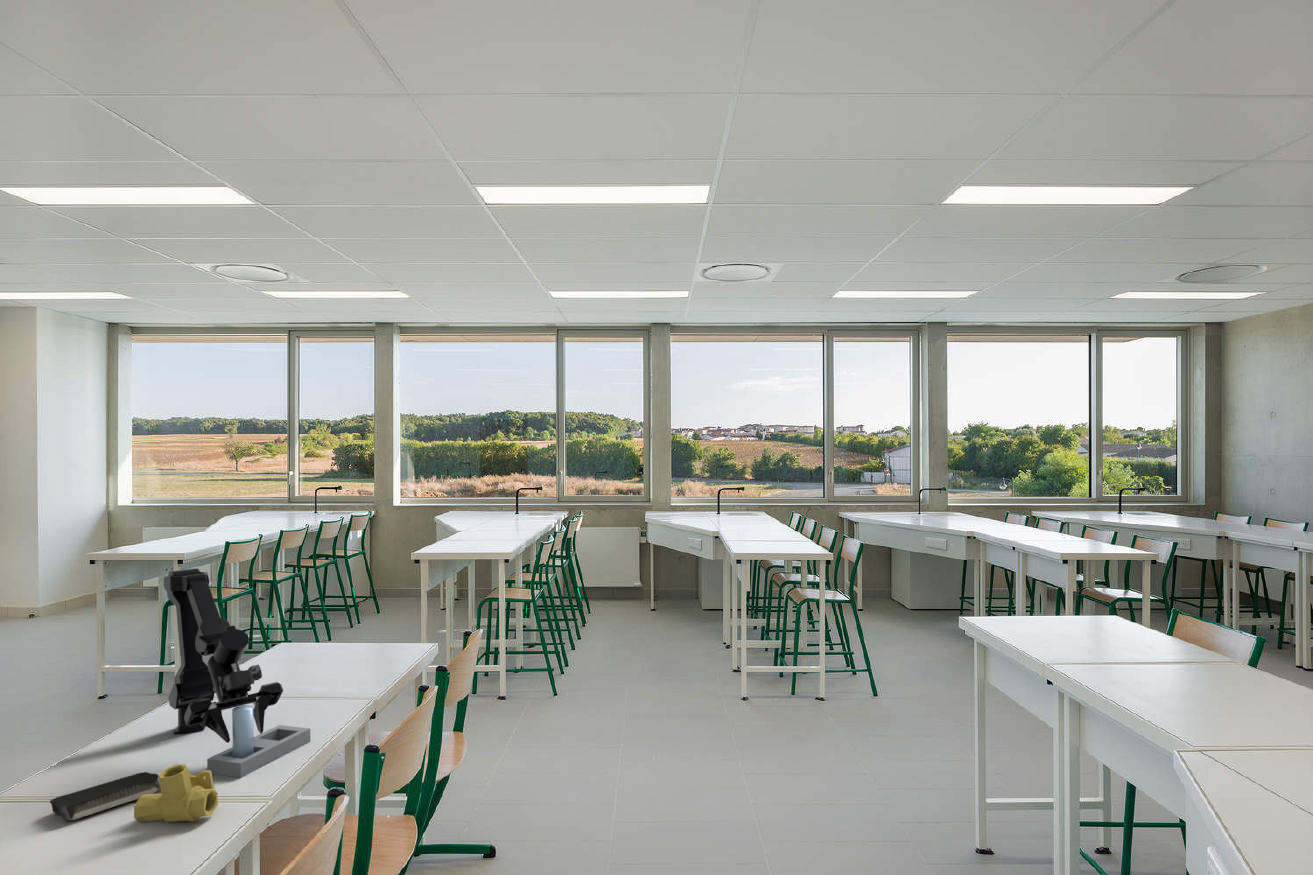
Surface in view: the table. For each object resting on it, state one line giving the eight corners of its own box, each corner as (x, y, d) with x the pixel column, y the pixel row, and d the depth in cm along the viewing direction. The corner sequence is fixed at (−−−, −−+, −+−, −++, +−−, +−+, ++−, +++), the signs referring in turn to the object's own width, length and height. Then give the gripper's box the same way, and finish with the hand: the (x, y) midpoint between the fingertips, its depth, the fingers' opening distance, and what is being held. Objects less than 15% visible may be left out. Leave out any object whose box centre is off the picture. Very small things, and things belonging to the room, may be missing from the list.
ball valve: (204, 830, 137) (234, 796, 147) (195, 777, 135) (226, 747, 145) (134, 836, 136) (169, 802, 147) (124, 783, 135) (160, 752, 145)
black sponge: (62, 828, 137) (62, 808, 137) (48, 815, 142) (49, 795, 142) (163, 795, 150) (163, 777, 150) (147, 784, 155) (147, 766, 155)
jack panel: (240, 777, 156) (240, 763, 156) (207, 772, 159) (207, 758, 159) (310, 741, 176) (310, 728, 176) (279, 737, 178) (279, 724, 178)
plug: (234, 763, 164) (234, 706, 164) (255, 760, 165) (254, 703, 165) (231, 770, 160) (230, 712, 160) (252, 767, 161) (251, 709, 161)
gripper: (188, 664, 158) (206, 729, 151) (279, 646, 172) (300, 704, 165) (176, 694, 164) (193, 758, 156) (266, 674, 178) (285, 731, 170)
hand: (245, 736), depth 162 cm, fingers open, 6 cm apart
